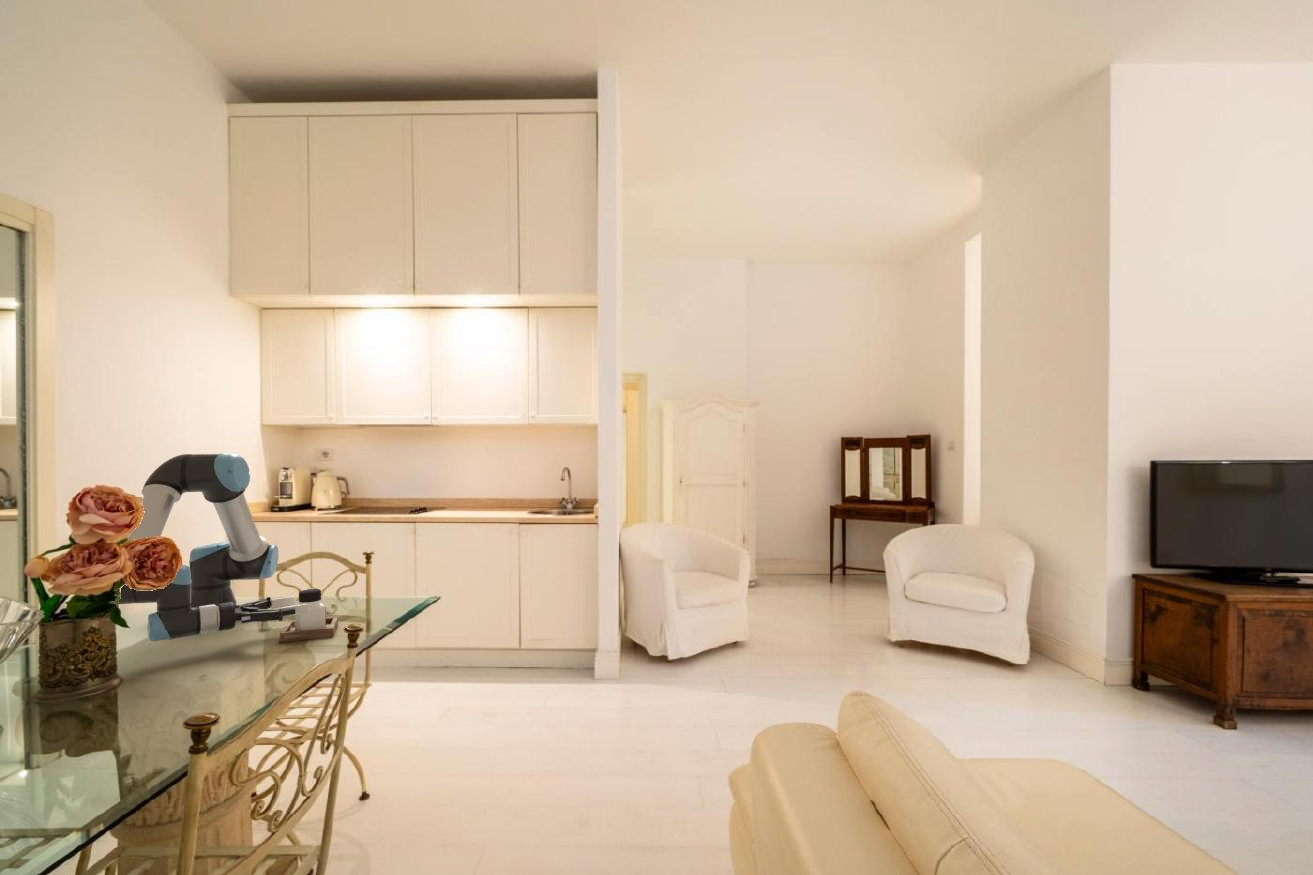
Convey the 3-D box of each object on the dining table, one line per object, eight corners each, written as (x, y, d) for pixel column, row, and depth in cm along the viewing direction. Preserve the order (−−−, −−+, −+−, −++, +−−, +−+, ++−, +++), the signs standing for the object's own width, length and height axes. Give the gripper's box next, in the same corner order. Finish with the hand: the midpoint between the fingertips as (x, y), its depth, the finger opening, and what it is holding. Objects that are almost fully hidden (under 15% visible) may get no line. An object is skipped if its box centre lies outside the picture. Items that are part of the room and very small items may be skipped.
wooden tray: (288, 629, 204) (288, 621, 204) (338, 624, 209) (338, 616, 209) (280, 642, 191) (279, 633, 191) (333, 636, 196) (333, 628, 196)
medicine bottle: (326, 629, 200) (325, 589, 200) (300, 633, 195) (299, 593, 195) (319, 624, 205) (319, 585, 205) (294, 628, 200) (294, 589, 200)
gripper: (210, 622, 194) (290, 609, 208) (224, 640, 175) (312, 625, 189) (210, 596, 194) (290, 585, 208) (224, 612, 175) (312, 599, 189)
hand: (301, 604), depth 198 cm, fingers open, 13 cm apart
